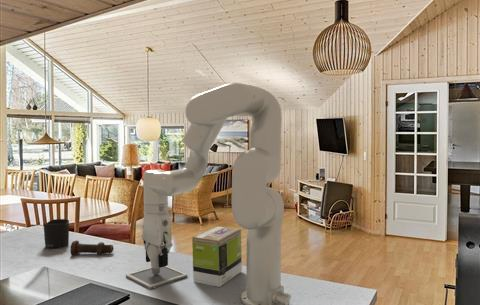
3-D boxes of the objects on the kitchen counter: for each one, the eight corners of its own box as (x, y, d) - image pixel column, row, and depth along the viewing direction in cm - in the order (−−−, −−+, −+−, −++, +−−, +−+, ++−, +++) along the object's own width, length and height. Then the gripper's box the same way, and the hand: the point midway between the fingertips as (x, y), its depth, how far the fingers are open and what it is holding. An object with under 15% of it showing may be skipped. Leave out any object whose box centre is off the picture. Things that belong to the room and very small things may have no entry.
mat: (187, 276, 129) (187, 274, 129) (150, 289, 119) (150, 286, 119) (162, 266, 138) (162, 263, 138) (125, 277, 128) (125, 274, 128)
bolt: (111, 259, 152) (71, 258, 151) (115, 249, 156) (76, 248, 155) (109, 248, 148) (69, 247, 148) (113, 238, 153) (73, 237, 152)
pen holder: (41, 245, 163) (40, 221, 163) (65, 241, 169) (64, 218, 169) (47, 250, 156) (47, 225, 155) (72, 246, 162) (72, 222, 161)
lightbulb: (161, 279, 125) (163, 245, 124) (143, 277, 126) (144, 243, 125) (168, 272, 131) (169, 239, 130) (150, 270, 132) (151, 238, 131)
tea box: (216, 267, 138) (216, 225, 137) (242, 272, 133) (242, 228, 132) (191, 282, 124) (191, 235, 124) (219, 288, 120) (219, 239, 119)
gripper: (182, 210, 124) (182, 267, 125) (150, 203, 136) (151, 255, 137) (161, 214, 118) (162, 273, 120) (131, 206, 131) (132, 260, 132)
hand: (156, 263), depth 128 cm, fingers open, 6 cm apart
